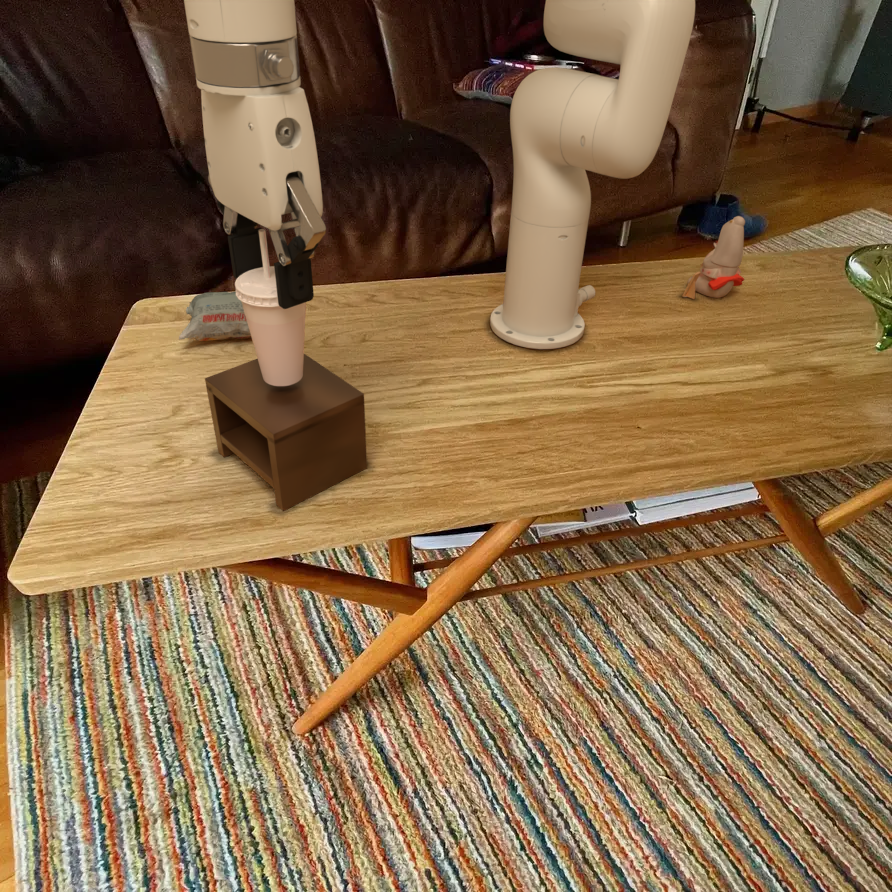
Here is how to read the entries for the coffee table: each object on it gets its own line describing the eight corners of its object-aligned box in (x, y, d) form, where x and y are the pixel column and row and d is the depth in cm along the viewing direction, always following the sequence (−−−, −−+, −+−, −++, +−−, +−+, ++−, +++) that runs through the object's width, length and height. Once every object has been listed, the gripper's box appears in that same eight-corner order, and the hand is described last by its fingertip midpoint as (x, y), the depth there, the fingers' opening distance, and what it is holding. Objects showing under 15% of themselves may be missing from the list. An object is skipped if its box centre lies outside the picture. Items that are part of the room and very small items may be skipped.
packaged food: (278, 347, 96) (274, 311, 93) (181, 352, 94) (173, 316, 91) (278, 316, 103) (275, 282, 100) (188, 320, 101) (181, 286, 98)
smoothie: (286, 351, 75) (271, 212, 67) (331, 374, 72) (321, 231, 64) (234, 377, 71) (210, 232, 63) (279, 402, 68) (261, 254, 60)
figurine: (708, 276, 117) (741, 203, 109) (741, 299, 113) (777, 225, 105) (668, 286, 113) (699, 211, 105) (701, 310, 109) (735, 234, 101)
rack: (299, 416, 84) (292, 345, 78) (367, 468, 77) (364, 393, 72) (218, 452, 78) (204, 378, 73) (283, 511, 71) (273, 434, 66)
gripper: (360, 78, 53) (368, 312, 63) (231, 40, 63) (257, 247, 73) (267, 92, 48) (293, 340, 59) (144, 49, 58) (185, 268, 69)
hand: (273, 287), depth 66 cm, fingers closed on smoothie, 6 cm apart
